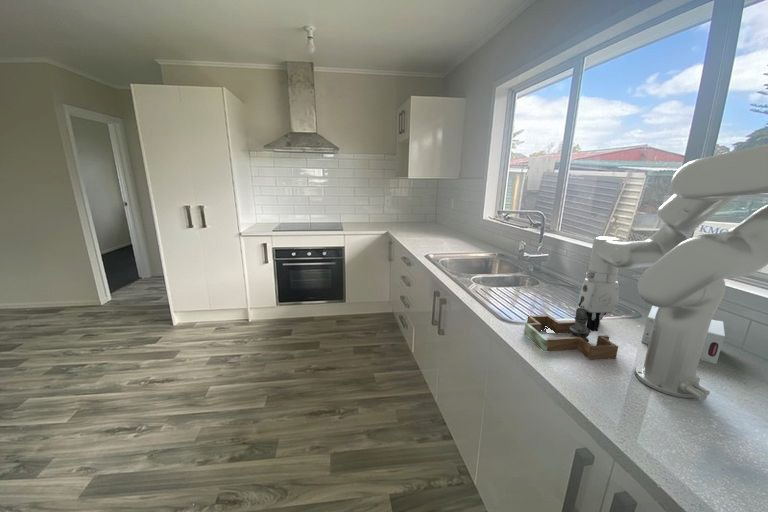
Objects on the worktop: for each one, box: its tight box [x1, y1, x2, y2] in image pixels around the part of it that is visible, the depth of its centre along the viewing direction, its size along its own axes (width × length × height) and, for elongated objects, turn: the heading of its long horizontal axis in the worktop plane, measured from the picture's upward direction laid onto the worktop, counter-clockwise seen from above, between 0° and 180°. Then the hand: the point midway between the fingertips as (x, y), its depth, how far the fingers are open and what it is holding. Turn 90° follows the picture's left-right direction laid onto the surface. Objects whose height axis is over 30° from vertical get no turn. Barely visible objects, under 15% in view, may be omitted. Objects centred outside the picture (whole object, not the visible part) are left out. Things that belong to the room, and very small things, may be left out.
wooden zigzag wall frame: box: [523, 314, 619, 361], centre depth 98 cm, size 22×21×4 cm
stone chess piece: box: [569, 306, 592, 343], centre depth 98 cm, size 6×6×12 cm
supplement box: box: [641, 305, 726, 365], centre depth 95 cm, size 17×13×9 cm
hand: (591, 329), depth 99 cm, fingers closed
